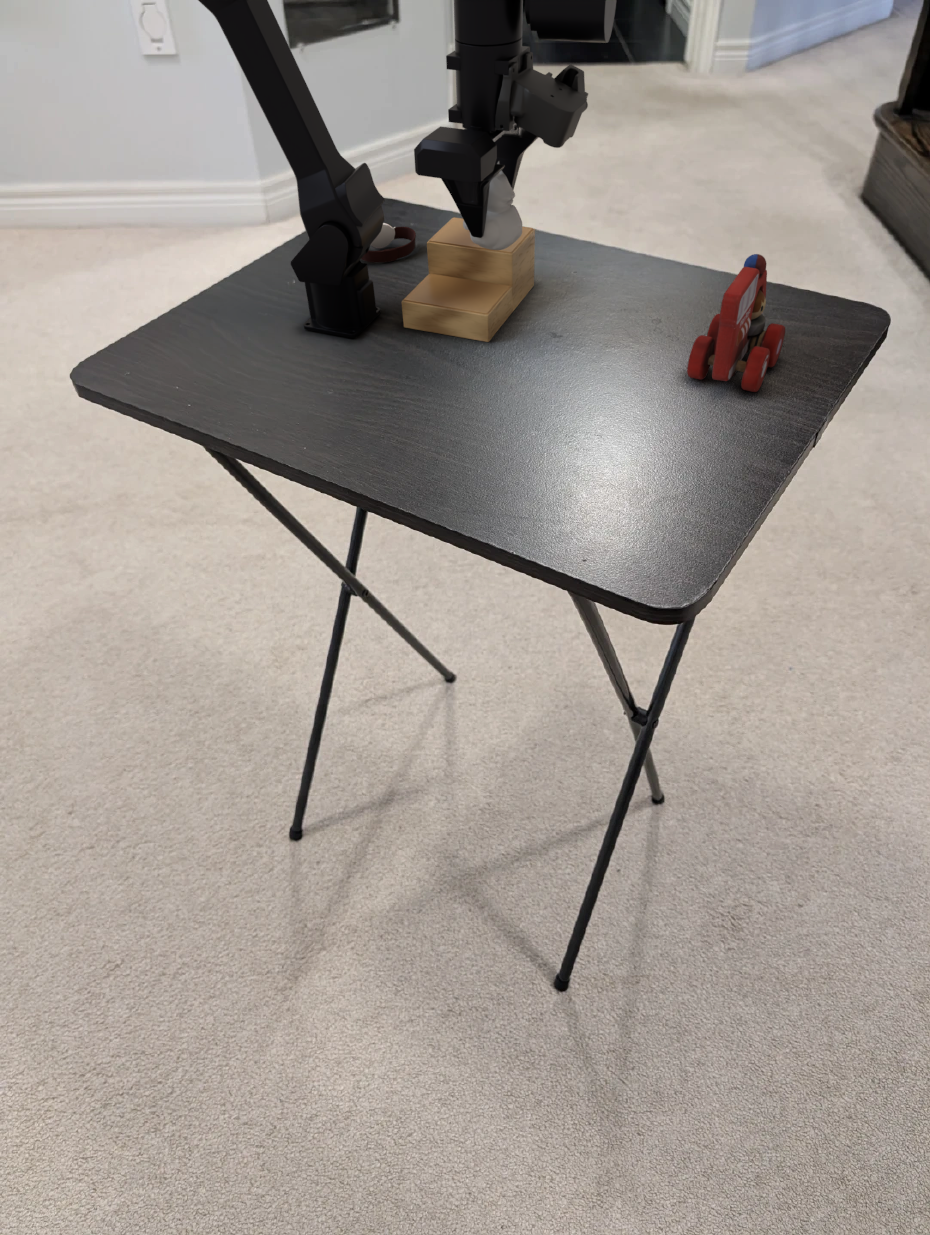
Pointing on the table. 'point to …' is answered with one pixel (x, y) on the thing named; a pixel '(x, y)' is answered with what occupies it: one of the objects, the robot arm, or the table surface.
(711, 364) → the toy fire truck
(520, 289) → the step shelf
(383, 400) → the table surface
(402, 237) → the watch
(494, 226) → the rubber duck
